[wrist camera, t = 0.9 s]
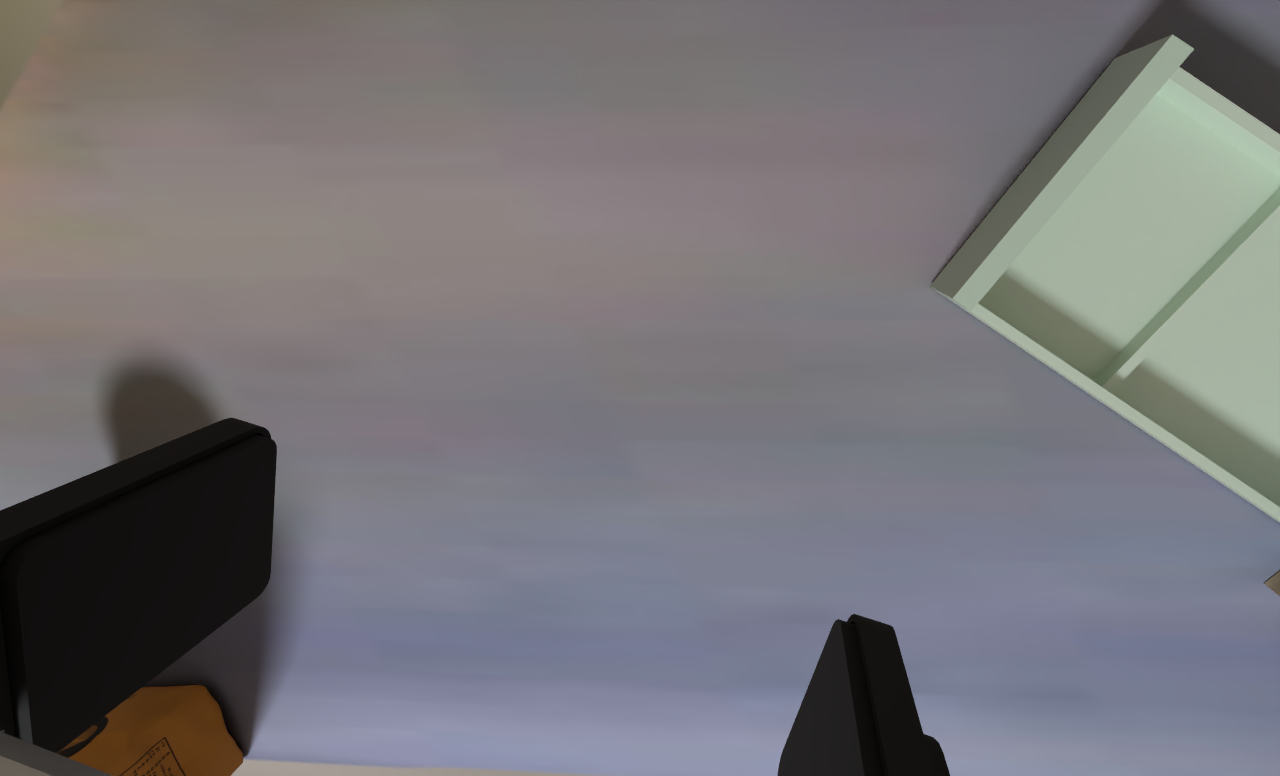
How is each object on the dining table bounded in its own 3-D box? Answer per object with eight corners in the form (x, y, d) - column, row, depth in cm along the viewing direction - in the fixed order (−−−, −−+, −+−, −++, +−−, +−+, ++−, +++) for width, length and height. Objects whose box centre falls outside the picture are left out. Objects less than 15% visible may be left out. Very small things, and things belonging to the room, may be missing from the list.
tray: (1114, 58, 29) (1172, 34, 25) (1564, 360, 29) (1698, 387, 25) (929, 286, 33) (952, 298, 29) (1322, 552, 33) (1402, 602, 29)
